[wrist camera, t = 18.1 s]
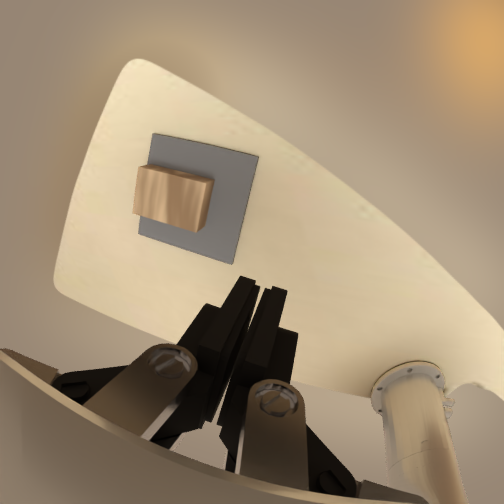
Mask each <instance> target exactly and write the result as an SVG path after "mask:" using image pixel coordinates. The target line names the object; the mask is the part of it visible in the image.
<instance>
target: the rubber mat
mask: <svg viewBox="0 0 504 504" xmlns="http://www.w3.org/2000/svg"><path fill="white" fill-rule="evenodd" d="M258 158H259V157H257V156H254V155H250V154H246V153H242V152H238V151H234V150H229V149H225V148H221V147H217V146H212V145H208V144H203V143H199V142H194V141H189V140H184V139H179V138H174V137H169V136H164V135H159V134H153V135H152V140H151V146H150V152H149V158H148V164H147V165H149V164H152V165H156V166H160V167H165V168H169V169H173V170H177V171H181V172H185V173H190V174H194V175H198V176H201V177H205V178H209V179H213V180H215V181H214V186H213V190H212V195H211V200H210V205H209V210H208V215H207V220H206V225H205V226H204V227H203V228H202V229H201V230H199V231H198V232H197V233H196V232H192V231H189V230H186V229H182V228H179V227H176V226H173V225H169V224H166V223H163V222H160V221H156V220H153V219H150V218H147V217H143V216H140V223H139V232H138V234H140V235H143V236H146V237H149V238H152V239H155V240H158V241H161V242H164V243H167V244H170V245H173V246H176V247H179V248H182V249H185V250H188V251H191V252H194V253H197V254H200V255H203V256H206V257H209V258H212V259H215V260H218V261H221V262H225V263H228V264H231V265H232V264H233V260H234V256H235V252H236V248H237V244H238V239H239V235H240V231H241V227H242V223H243V219H244V215H245V210H246V206H247V202H248V198H249V194H250V190H251V186H252V182H253V178H254V174H255V170H256V166H257V162H258Z"/></svg>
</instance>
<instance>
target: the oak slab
mask: <svg viewBox="0 0 504 504" xmlns="http://www.w3.org/2000/svg"><path fill="white" fill-rule="evenodd" d="M214 181H215V180H213V179H209V178H205V177H201V176H198V175H194V174H190V173H185V172H181V171H177V170H173V169H169V168H165V167H160V166H156V165H152V164H149V165H145V166H140V167H138V174H137V181H136V188H135V196H134V205H133V213H134V214H137V215H140V216H143V217H147V218H150V219H153V220H156V221H160V222H163V223H166V224H169V225H173V226H176V227H179V228H182V229H186V230H189V231H192V232H196V233H197V232H198V231H199V230H201V229H202V228H203V227H204V226H205V225H206V220H207V215H208V210H209V205H210V200H211V195H212V190H213V186H214Z"/></svg>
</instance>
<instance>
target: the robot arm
mask: <svg viewBox="0 0 504 504" xmlns="http://www.w3.org/2000/svg"><path fill="white" fill-rule="evenodd" d="M255 282H256V280H253V279H249V278H246V277H243V276H240V277H239V279H238V280H237V282H236V284H235V285H234V287H233V288H232V290H231V292H230V293H229V295H228V297H227V298H226V300H225V302H224V303H223V305H222V307H221V308H219V307H216V306H213V305H210V304H208V303H206V304H205V305H204V306H203V308H202V309H201V310H200V312H199V313H198V315H197V316H196V318H195V319H194V320H193V322H192V323H191V325H190V326H189V327H188V329H187V330H186V332H185V333H184V335H183V336H182V337H181V339H180V340H179V342H178V343H177V345H175V344H169V343H166V344H158V345H154V346H152V347H150V348H149V349H147V350H146V351H145V352H144V353H142V354H141V355H140V356H139V357H138V358H137V359H135V360H134V361H133V362H132V363H131V364H130V365H126V366H118V367H110V368H103V369H94V370H85V371H75V372H69V373H64V374H60V373H59V370H58V369H56V368H54V367H51V366H48V365H46V364H43V363H41V362H38V361H36V360H33V359H31V358H29V357H26V356H24V355H22V354H20V353H17V352H15V351H13V350H10V349H6V348H5V349H0V504H469V501H468V498H467V495H466V492H465V489H464V486H463V482H462V478H461V474H460V470H459V466H458V461H457V457H456V453H455V449H454V445H453V441H452V437H451V433H450V429H449V426H448V422H447V419H448V418H450V417H451V415H452V409H451V408H445V407H443V406H444V405H445V406H449V407H452V406H453V405H454V403H455V401H454V399H450V398H445V397H444V394H443V390H444V386H445V380H444V376H443V373H442V372H441V370H440V369H439V368H438V367H437V366H436V365H434V364H431V363H428V362H410V363H406V364H402V365H400V366H397V367H395V368H393V369H391V370H390V371H388V372H387V373H385V374H384V375H383V376H382V377H381V378H380V379H379V380H378V381H377V382H376V383H375V385H374V387H373V389H372V392H371V403H372V406H373V409H374V410H375V411H376V412H377V413H378V414H380V415H381V416H382V417H383V427H384V438H385V449H386V465H387V483H388V487H387V486H383V485H380V484H377V483H373V482H371V481H367V480H363V481H361V482H359V481H356V480H355V479H354V477H353V476H352V474H351V473H350V472H349V470H347V468H345V466H344V465H343V464H342V463H341V462H340V461H339V460H338V459H337V458H336V457H335V456H334V454H332V452H331V451H330V450H329V449H328V448H327V447H326V446H325V445H324V444H323V442H322V441H321V440H320V439H319V438H318V437H317V436H316V435H315V433H314V432H313V431H312V430H311V429H310V428H309V427H308V426H307V424H306V418H305V404H304V400H303V397H302V395H301V394H300V392H299V391H298V390H297V389H295V388H294V387H293V386H292V385H290V380H291V374H292V369H293V363H294V357H295V352H296V346H297V340H298V333H296V332H293V331H290V330H286V329H283V328H280V327H278V326H279V322H280V319H281V315H282V311H283V307H284V303H285V299H286V295H287V290H284V289H281V288H278V287H275V286H272V289H271V290H270V289H267V288H265V290H264V292H263V295H262V297H261V299H260V302H259V304H258V307H257V309H256V312H255V314H254V317H253V319H252V322H251V324H250V321H251V317H252V314H253V311H254V307H255V304H256V301H257V297H258V294H259V290H260V286H258V285H255ZM249 324H250V326H249ZM248 328H249V329H248ZM230 377H231V378H230ZM229 380H230V381H229ZM228 382H229V385H228ZM227 385H228V388H227V391H226V395H225V398H224V402H223V405H222V408H221V411H220V415H219V418H218V421H217V425H220V426H222V429H221V432H220V435H219V437H220V439H221V440H222V442H223V443H224V445H225V446H226V448H227V451H226V453H225V459H224V465H223V470H222V469H219V468H216V467H213V466H210V465H207V464H204V463H201V462H199V461H196V460H194V459H191V458H188V457H186V456H183V455H180V454H178V453H176V452H173V451H174V450H175V449H176V448H177V446H178V445H179V444H180V442H181V441H182V440H183V438H184V436H185V434H186V432H189V431H192V430H195V429H198V428H200V429H202V426H203V424H204V422H205V421H208V422H212V420H213V418H214V415H215V413H216V411H217V408H218V406H219V404H220V401H221V399H222V397H223V394H224V392H225V389H226V387H227Z"/></svg>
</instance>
